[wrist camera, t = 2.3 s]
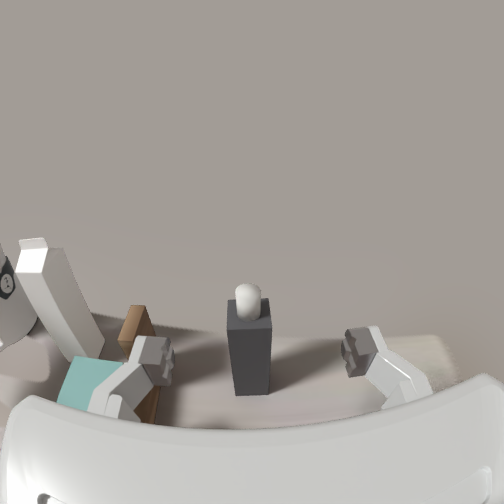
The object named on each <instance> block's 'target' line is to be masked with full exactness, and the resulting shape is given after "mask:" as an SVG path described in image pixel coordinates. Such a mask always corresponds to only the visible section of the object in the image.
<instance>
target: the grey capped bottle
mask: <svg viewBox="0 0 504 504" xmlns="http://www.w3.org/2000/svg"><path fill="white" fill-rule="evenodd" d="M235 293H236V300H228V310H227V336H228V344H229V352H230V359H231V367H232V374H233V381H234V388H235V395H236V396H249V395H268V391H269V376H270V359H271V342H272V323H271V315H270V307H269V300H268V298H265V299H261V295H260V294H261V290H260V288H259V287H258V286H257V285H255V284H251V283H246V284H242V285H240V286H238V287H237V288H236V291H235Z"/></svg>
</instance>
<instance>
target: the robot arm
mask: <svg viewBox="0 0 504 504" xmlns="http://www.w3.org/2000/svg"><path fill="white" fill-rule="evenodd" d="M37 317H38V315H37V313H36V311H35V310H34V308H33V306H32V304H31V302H30V301H29V299H28V297H27V295H26V293H25V291H24V289H23V287H22V285H21V283H20V281H19V279H18V277H17V275H16V273H14V270H13V268H12V266H11V263H10V261H9V260H8V257H7V256H5V255H4V252H3V250H2V247H1V244H0V352H1V351H2V350H4V349H5V348H6V347H7V346H9V345H11V344H14V343H16V342H18V341H19V340H21V339H22V338H23V337H24V336H26V335H27V334H28V332H29V331H30V330H31V329H32V327H33V326H34V324H35V322H36V320H37ZM345 337H346V338H345V339H344V340H343V341H342V345H341V353H342V357H343V359H344V360H345V361H346V362H347V364H346V366H345V367H346V370H347V373H348V377H349V378H350V377H357V376H363V375H365V377H366V378H367V379H368V380H369V381H370V382H371V383H372V384H373V385H374V386H376V387H377V388H378V389H379V390H380V391H381V392H382V393H383V394H384V395H385V396H386V397H387V398H388V399H387V400H386V402H385V403H384V404H383V405H382V407H381V409H382V410H380V411H376V412H372V413H368V414H363V415H359V416H354V417H349V418H344V419H339V420H333V421H328V422H321V423H314V424H307V425H299V426H289V427H278V428H263V429H198V428H183V427H172V426H162V425H154V424H147V423H140V421H141V420H140V418H139V417H138V416H137V415H136V414H135V413H134V411H133V410H134V409H135V408H136V407H137V405H138V404H139V403H140V402H141V401H142V400H143V398H144V397H145V396H146V395H147V394H148V392H149V391H150V390H151V389H152V388H153V387H154V386H153V385H157V386H171V380H172V372H171V369H172V368H173V367H174V363H175V355H174V350H173V348H172V347H170V343H171V342H170V340H169V338H168V337H153V336H139V335H138V336H137V337H136V339H135V342H134V345H133V348H132V351H131V354H130V357H129V361H128V362H125V363H124V364H123V365H122V366H120V367H119V368H118V369H117V370H116V371H115V372H114V373H112V374H111V375H110V376H109V377H108V378H107V379H106V380H104V381H103V382H102V383H101V384H100V385H99V386H97V387H96V388H95V389H94V390H93V393H92V396H91V400H90V403H89V406H88V409H87V411H83V410H79V409H76V408H72V407H69V406H66V405H62V404H59V403H56V402H53V401H50V400H47V399H45V398H42V397H39V396H36V395H30V396H28V397H26V398H25V399H24V400H22V401H21V402H20V403H18V404H17V405H16V406H15V407H14V408H13V409H12V411H11V413H10V416H9V419H8V422H7V426H6V429H5V433H4V438H3V442H2V447H1V453H0V504H504V383H502V382H500V381H499V380H497V379H495V378H494V377H492V376H491V375H489V374H486V373H480V374H478V375H476V376H474V377H472V378H470V379H468V380H465V381H463V382H461V383H459V384H456V385H454V386H452V387H449V388H447V389H444V390H442V391H439V392H436V393H433V391H432V388H431V386H430V384H429V382H428V379H427V377H426V375H425V374H424V373H423V372H422V371H420V370H419V369H417V368H416V367H415V366H413V365H412V364H410V363H409V362H408V361H406V360H405V359H403V358H402V357H401V356H399V355H398V354H396V353H395V352H394V351H392V350H389V349H388V347H387V345H386V343H385V341H384V339H383V336H382V335H381V332H380V331H379V328H378V327H377V326H369V327H361V328H354V329H347V331H346V332H345Z"/></svg>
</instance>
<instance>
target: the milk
mask: <svg viewBox="0 0 504 504" xmlns="http://www.w3.org/2000/svg"><path fill="white" fill-rule="evenodd" d="M19 244H20V247H21V250H22V251H21V254H20V257H19V260H18V264H17V268H16V275H17V277H18V279H19V281H20V283H21V285H22V287H23V289H24V291H25V293H26V295H27V297H28V299H29V301H30V302H31V304H32V306H33V308H34V310H35V311H36V313H37V315H38V317H39V318H40V320H41V322H42V323H43V325H44V326H45V328H46V330H47V331H48V333H49V334H50V336H51V337H52V339H53V340H54V342H55V343H56V345H57V346H58V348H59V349H60V351H61V352H62V354H63V355H64V356H65V358H66V359H67V361H68V362H71V363H72V361H73V358H74V356H80V357H86V358H93V359H98V358H99V355H100V353H101V350H102V347H103V345H104V343H105V339H104V337H103V336H102V334H101V332H100V330H99V328H98V326H97V324H96V322H95V320H94V319H93V317H92V315H91V312H90V310H89V309H88V306H87V304H86V302H85V300H84V298H83V296H82V293H81V291H80V289H79V287H78V284H77V282H76V280H75V277H74V275H73V272H72V270H71V267H70V265H69V262H68V260H67V257H66V255H65V252H64V249H63V248H49V247H48V245H47V243H46V240H45V238H34V239H25V240H19Z"/></svg>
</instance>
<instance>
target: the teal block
mask: <svg viewBox="0 0 504 504" xmlns="http://www.w3.org/2000/svg"><path fill="white" fill-rule="evenodd" d="M123 364H124V363H123V362H115V361H107V360H100V359H93V358H86V357H80V356H74V358H73V361H72V363H71V365H70V368H69V370H68V373H67V375H66V378H65V380H64V383H63V385H62V388H61V390H60V393H59V396H58V399H57V401H56V403H59V404H62V405H66V406H69V407H72V408H76V409H79V410H83V411H87V409H88V406H89V403H90V400H91V396H92V393H93V390H94V389H95V388H96V387H97V386H99V385H100V384H101V383H102V382H103V381H104V380H106V379H107V378H108V377H109V376H110V375H111V374H112V373H114V372H115V371H116V370H117V369H118V368H119V367H120V366H122V365H123Z"/></svg>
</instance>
